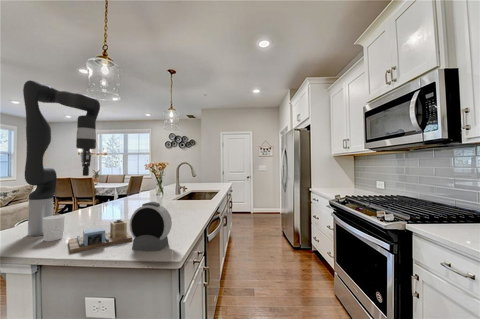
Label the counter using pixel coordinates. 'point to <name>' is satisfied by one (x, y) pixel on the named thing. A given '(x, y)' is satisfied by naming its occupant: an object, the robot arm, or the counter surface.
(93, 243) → the jig board
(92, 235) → the block
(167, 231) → the alarm clock
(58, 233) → the white cup
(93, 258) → the counter surface
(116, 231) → the collar
